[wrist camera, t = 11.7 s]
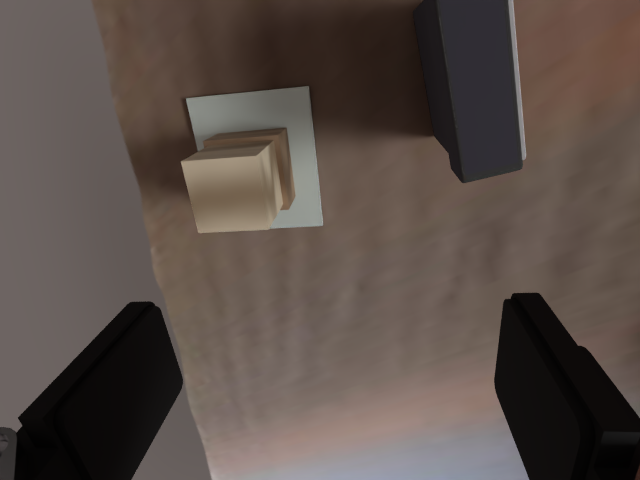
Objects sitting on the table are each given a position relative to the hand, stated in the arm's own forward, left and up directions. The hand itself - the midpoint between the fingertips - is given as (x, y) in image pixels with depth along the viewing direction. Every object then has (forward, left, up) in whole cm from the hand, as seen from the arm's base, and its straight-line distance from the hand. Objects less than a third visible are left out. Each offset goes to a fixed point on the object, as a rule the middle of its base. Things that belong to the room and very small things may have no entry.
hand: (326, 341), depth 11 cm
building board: (+2, -10, -30) cm, 32 cm away
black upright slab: (-5, +8, -31) cm, 32 cm away
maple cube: (+2, -10, -26) cm, 28 cm away
